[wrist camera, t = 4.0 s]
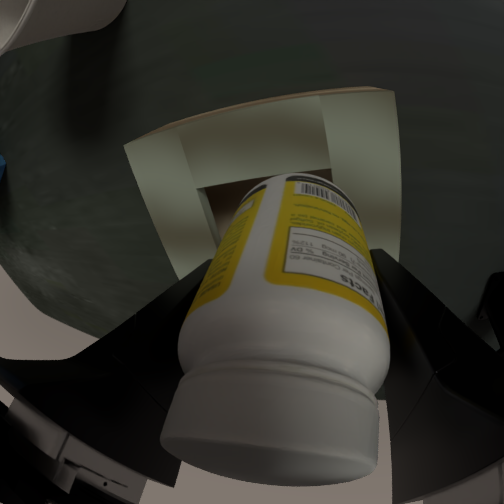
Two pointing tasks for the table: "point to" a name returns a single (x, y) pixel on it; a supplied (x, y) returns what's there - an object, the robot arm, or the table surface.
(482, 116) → the table surface
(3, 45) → the dixie cup
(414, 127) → the table surface
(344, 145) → the drop box
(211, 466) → the supplement bottle
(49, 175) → the table surface
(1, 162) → the perfume bottle
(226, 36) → the table surface
